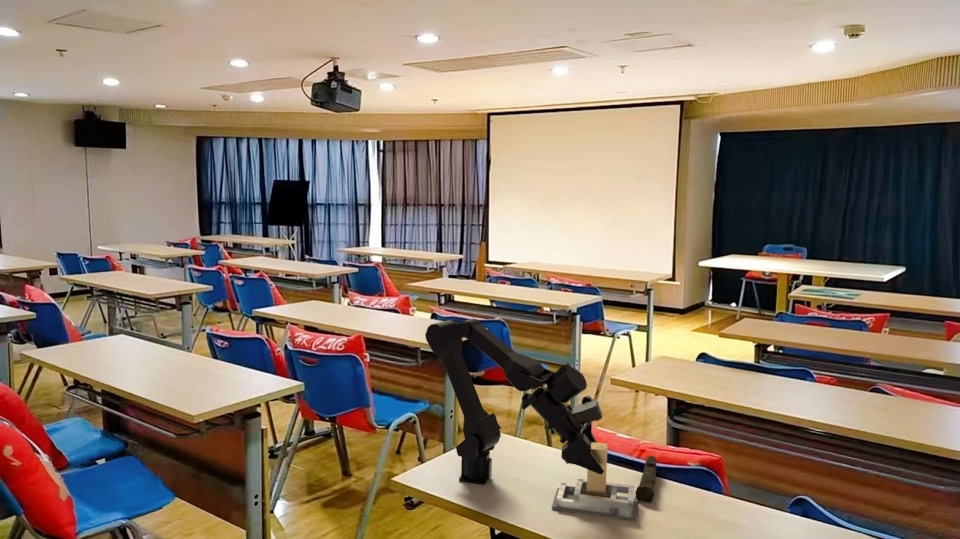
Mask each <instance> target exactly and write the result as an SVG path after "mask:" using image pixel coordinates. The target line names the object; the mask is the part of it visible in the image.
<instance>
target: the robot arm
mask: <svg viewBox="0 0 960 539" xmlns="http://www.w3.org/2000/svg"><path fill="white" fill-rule="evenodd" d="M424 334H425V335H424V336H425V340H426V342H427V344H428V346H429V348H430V349H431V351H432V353H433V354H434V355H436V356H437V357H438V358H439V359H440V360H441V361H442V363H443V365H444V368H445V371H446V374H447V376H448V378H449V381H450V384H451V387H452V389H453V392H454V394H455V396H456V399H457V402H458V404H459V408H460V409H461V413H462V415H463V426H462V433H463V437H464V439H463V440H462V441H461V442H459V443H458V444H457V445H456V446H455V450H456V453H457V456H458V457H461V466H460V468H461V470H460V476H459V478H458V481H460V482H467V483H475V484H479V485H481V484H482V485H485V484H486V483H487V481H488V480H489V479H490V478H491V476H492V471H493V470H492V469H493V459H492V458H491V456H490V455H491V454H490V453H491V452H490V451H493V450H494V449H495V446H496V445H497V444H499V442H500V439H501V435H502V434H501V431H500V430H501V429H502V427H501V426H500V424H499V422H498V420H497V415H496V414H495V413H494V412H492V413H490V414H489V413H488V412H487V411H486V410H485V409H484V407H483V405H482V403H481V399H480V398H479V395H478V392H477V389H476V388H475V384H474V382H473V379H472V377H471V375H470V374H471V373H470V372H469V369H468V366H467V364H466V362H465V359H464V356H463V352H462V350H463V338H465V339H466V340H468V341H469V342H470V343H472V344H473V345H474V346H475V347H476V348H477V349H479V350H480V352H482V353H483V354H485V356H487V357H488V358H489V359H490V360H491V361H493V363H495V364H496V365H498V366H499V367H500V368H501V369H502V371H503V373H504V375H505V378H506V379H507V380H508V382H509V383H510V384H511V385H512V386H513V388H515V389H516V390H517V391H519V392H525V393H524V394H523V395H522V396H521V400H522V403H521V410H524V411H525V410H526V409H527V408H529V407H531V408H533V410H534V411H535V412H536V413H537V414H538V416H540V417H541V418H542V420H543V421H544V422H545V423H546V428H547V429H548V430H549V431H551V430H552V431H554V433H556V435H557V436H558V437H559V442H560V443H561V444H562V446H561V459H562V460H563V461H564V462H565V463H566V464H567V465H569V464H570V465H576V466H579V467H581V468H582V469H583V468H584V469H586V470H590V471H593V472H595V473H598V474H600V475H601V474H602V473H604V470H603V468H602V467H601V465H600V464H599V462H598V461H597V459H596V458H595V456H594V455H593V453H592V452H591V442H596V443H598V441H597V439H596V437H595V436H594V434H593V432H592V428H593V427H592V426H593V422H594V421H595V422H596V421H597V422H598V421H600V420H601V419H603V411H602V410H601V407H600V405H599V402H598V400H597V399H595V398H594V399H593V398H592V397H591V396H590V395H589V394H587V395H584V396H582V398H581V403H580V404H578V405H577V406H575V407H573V406H572V405H571V404H568V402H570V401H572V399H574V398H576V397H577V396H578V395H579V394H581V393H582V392H584V391H585V390H586V389H587V388H588V386H587V385H588V384H587V380H586V378H585V375H584V374H583V373H582V372H580V370H578V369H577V368H575V367H572V366H571V365H570V364H569V362H567V363H564V364H563V365H561V366H560V367H559V368H558V369H557V370H556V371H552V370H550V369H548V368H545V367H544V366H543V365H542V364H541V363H540V362H539V361H537V360H535V359H533V358H532V357H530V356H527V355H525V354H521V353H519V352H517V351H515V350H513V348H511V347H510V346H509V345H507V344H506V343H505V342H504V341H502V340H501V339H500V338H499V337H498V336H496V334H494V333H493V332H491V331H490V330H489V329H487V328H486V327H485V326H484V325H483V324H482V323H481V321H480V320H479V319H476V318H470V319H466V320H462V321H460V322H455V321H453V320H445V321H440V322H436V323H432V324H430V325H429V326H427V328H426V332H425V333H424ZM545 385H546V386H545ZM543 386H545V387H543ZM532 389H534V390H533V392H531V393H530V392H529V393H528V392H527V391H530V390H532ZM526 392H527V393H526Z"/></svg>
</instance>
